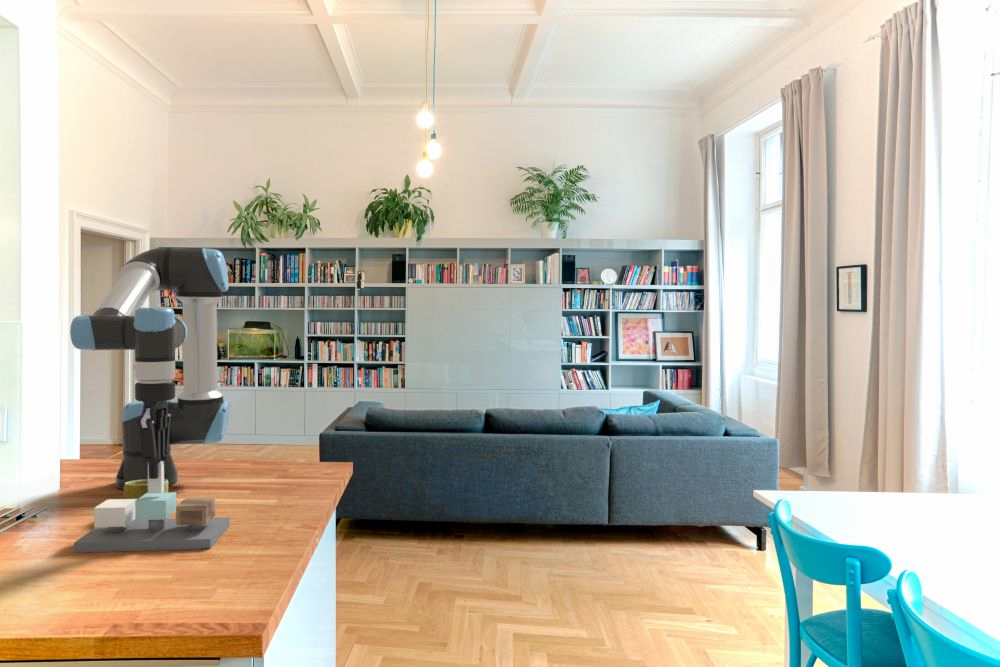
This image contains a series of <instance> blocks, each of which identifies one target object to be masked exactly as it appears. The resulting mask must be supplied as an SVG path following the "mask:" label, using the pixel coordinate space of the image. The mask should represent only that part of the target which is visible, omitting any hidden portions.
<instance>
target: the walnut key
mask: <svg viewBox="0 0 1000 667" xmlns="http://www.w3.org/2000/svg"><path fill="white" fill-rule="evenodd" d="M215 516H216V497H213V496H211V497H210V496H209V497H208V496H207V497H185V498H184V499H183V500H182V501H181V502H179V503H178V504H176V511H175V518H176V525H206V524H207V523H208V522H209V521H210V520H211V519H212V518H215Z"/></svg>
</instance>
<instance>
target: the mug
mask: <svg viewBox="0 0 1000 667" xmlns="http://www.w3.org/2000/svg"><path fill="white" fill-rule="evenodd" d="M164 492H169V485H168V480H167V479H164ZM146 493H148V480H135V481H129V482H126V483H125V485H124V490H123V499H139V498H140V497H142V496H143V495H145V494H146Z"/></svg>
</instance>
